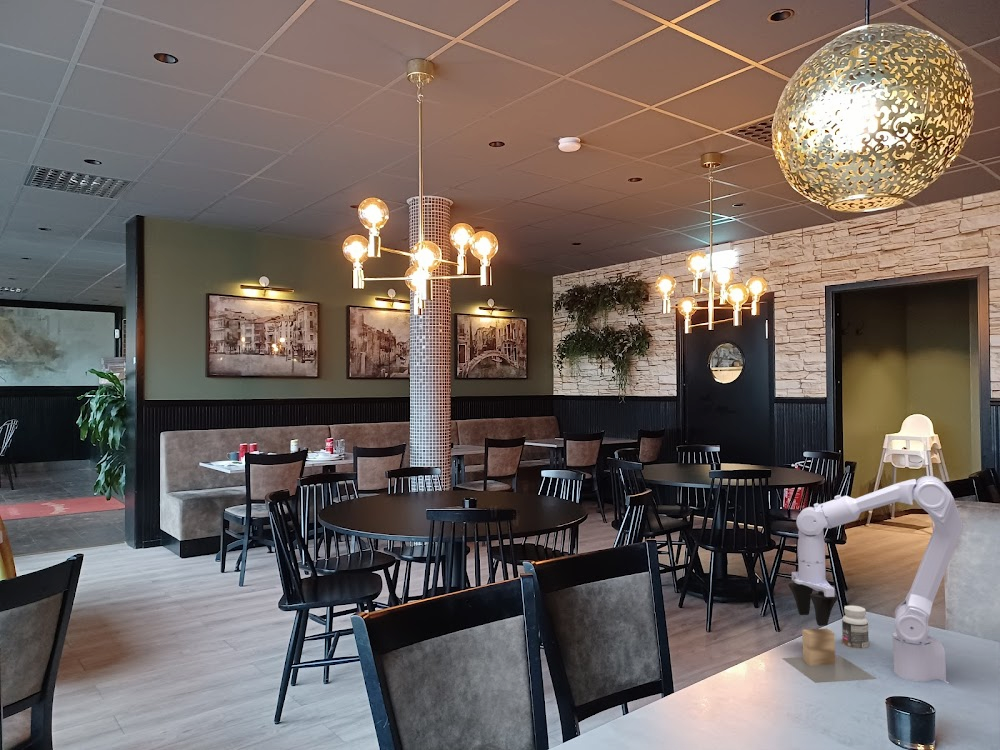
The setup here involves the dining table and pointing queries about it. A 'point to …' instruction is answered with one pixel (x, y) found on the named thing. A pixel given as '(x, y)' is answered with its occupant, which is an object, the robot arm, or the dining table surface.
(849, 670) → the board
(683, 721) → the dining table surface
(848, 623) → the pill bottle
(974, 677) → the dining table surface
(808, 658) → the block
